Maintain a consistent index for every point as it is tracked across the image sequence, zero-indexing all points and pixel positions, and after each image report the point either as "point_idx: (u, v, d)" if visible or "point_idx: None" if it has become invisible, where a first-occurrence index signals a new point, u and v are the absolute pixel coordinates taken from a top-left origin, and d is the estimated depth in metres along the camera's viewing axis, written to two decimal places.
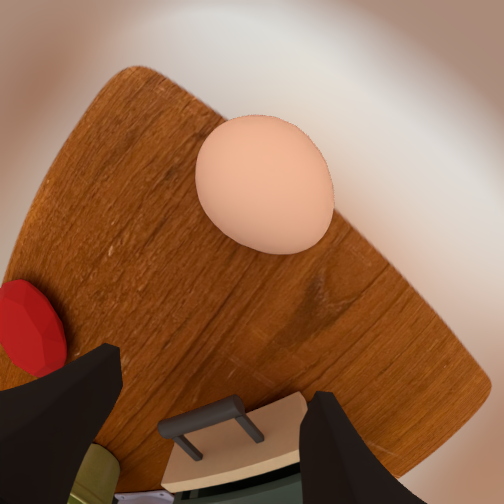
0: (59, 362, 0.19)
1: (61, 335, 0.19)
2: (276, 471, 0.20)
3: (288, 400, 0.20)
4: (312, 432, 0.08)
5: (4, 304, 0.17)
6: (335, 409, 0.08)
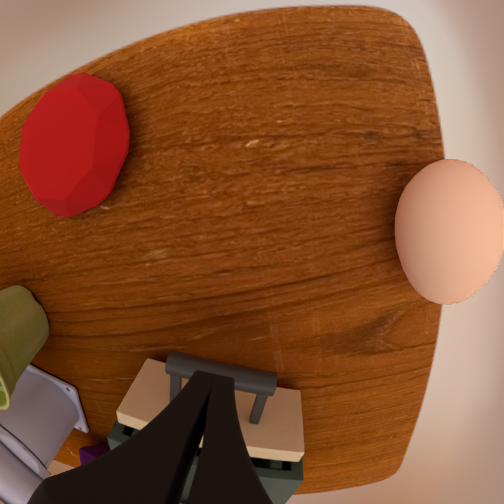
0: (84, 206, 0.15)
1: (113, 180, 0.15)
2: None
3: (288, 393, 0.19)
4: (206, 416, 0.08)
5: (68, 96, 0.13)
6: (224, 393, 0.08)
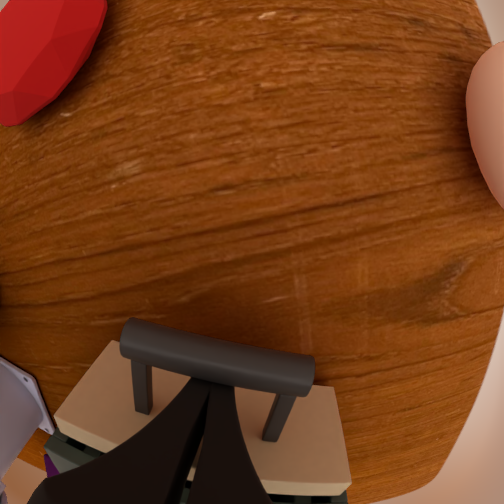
0: (35, 100, 0.09)
1: (77, 62, 0.09)
2: None
3: (318, 392, 0.13)
4: (206, 416, 0.08)
5: None
6: (224, 393, 0.08)
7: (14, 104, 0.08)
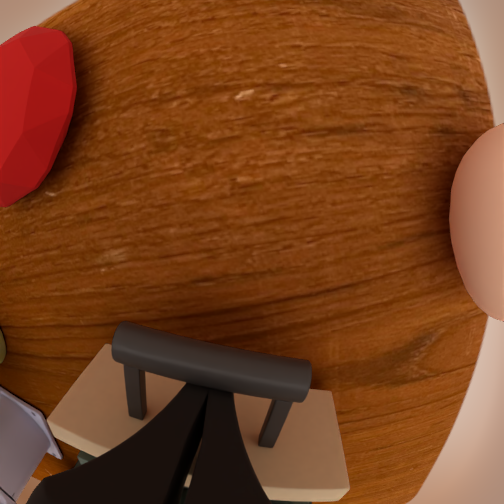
0: (18, 190, 0.10)
1: (53, 152, 0.10)
2: None
3: (315, 396, 0.13)
4: (205, 416, 0.08)
5: (8, 50, 0.07)
6: (222, 393, 0.08)
7: None
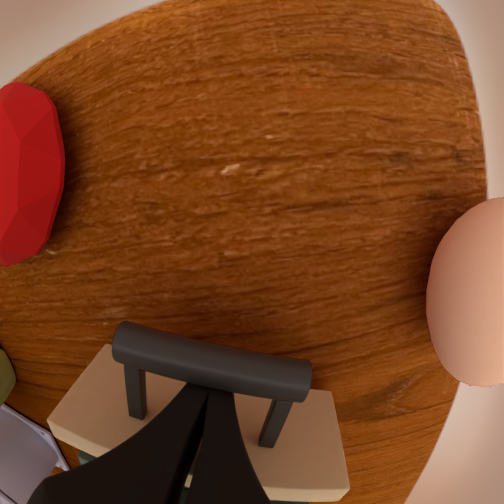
0: (20, 256, 0.11)
1: (49, 224, 0.10)
2: None
3: (315, 396, 0.13)
4: (205, 416, 0.08)
5: None
6: (223, 393, 0.08)
7: (1, 256, 0.10)
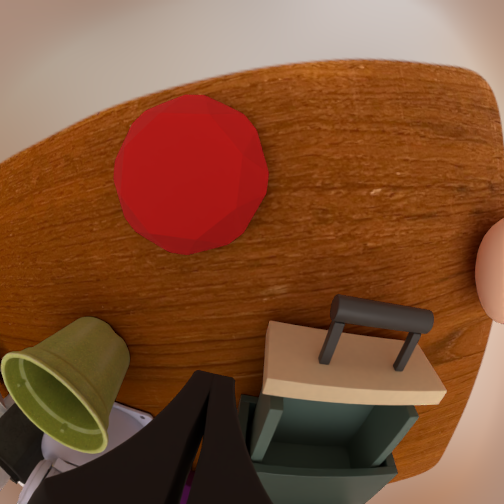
0: (212, 245, 0.17)
1: (249, 220, 0.16)
2: (323, 411, 0.20)
3: None
4: (206, 416, 0.08)
5: (198, 122, 0.14)
6: (224, 393, 0.08)
7: (191, 245, 0.16)
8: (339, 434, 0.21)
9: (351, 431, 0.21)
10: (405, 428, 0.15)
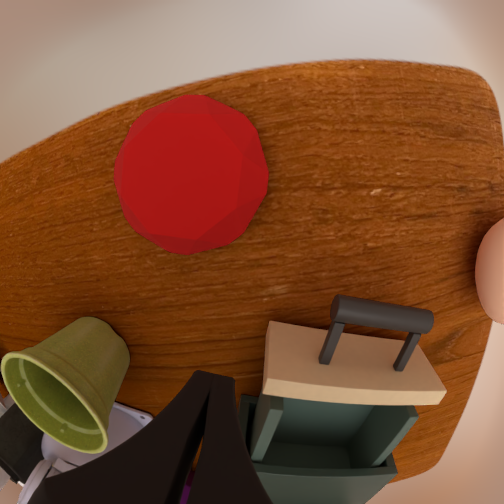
0: (213, 245, 0.17)
1: None
2: (323, 411, 0.20)
3: None
4: (206, 416, 0.08)
5: (198, 123, 0.14)
6: (224, 393, 0.08)
7: (191, 245, 0.16)
8: (339, 434, 0.21)
9: (351, 431, 0.21)
10: (405, 428, 0.15)
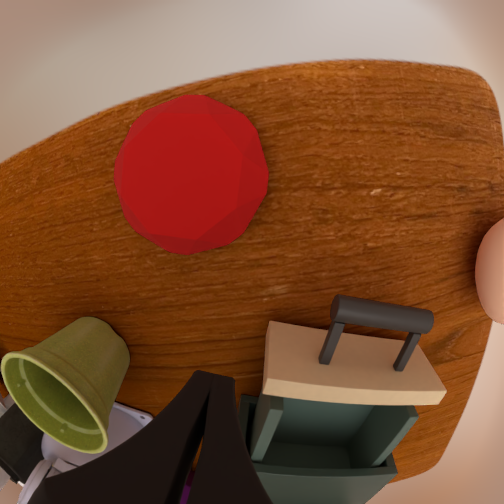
0: (213, 245, 0.17)
1: None
2: (323, 411, 0.20)
3: None
4: (206, 416, 0.08)
5: (198, 123, 0.14)
6: (224, 393, 0.08)
7: (191, 245, 0.16)
8: (339, 434, 0.21)
9: (351, 431, 0.21)
10: (405, 428, 0.15)
